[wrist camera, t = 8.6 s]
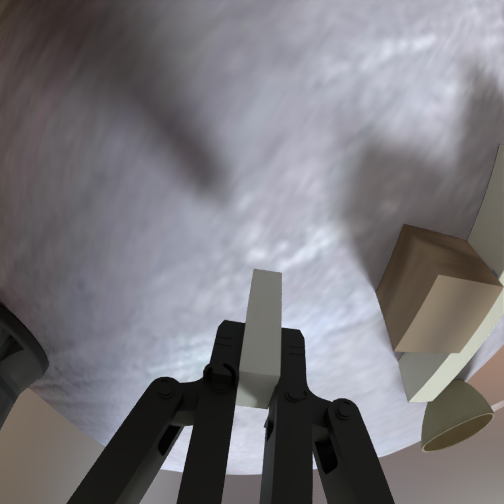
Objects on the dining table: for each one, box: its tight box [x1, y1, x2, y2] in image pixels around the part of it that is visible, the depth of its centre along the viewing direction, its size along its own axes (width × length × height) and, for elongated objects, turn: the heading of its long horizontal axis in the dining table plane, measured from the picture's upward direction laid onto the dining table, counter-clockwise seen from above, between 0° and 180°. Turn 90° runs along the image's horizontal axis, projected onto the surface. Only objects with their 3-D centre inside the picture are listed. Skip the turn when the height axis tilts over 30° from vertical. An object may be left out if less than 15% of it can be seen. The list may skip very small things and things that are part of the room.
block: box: [376, 224, 504, 353], centre depth 17 cm, size 6×6×6 cm
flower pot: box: [421, 379, 494, 452], centre depth 25 cm, size 10×10×7 cm
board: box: [398, 145, 504, 403], centre depth 17 cm, size 3×22×5 cm, turn 173°
